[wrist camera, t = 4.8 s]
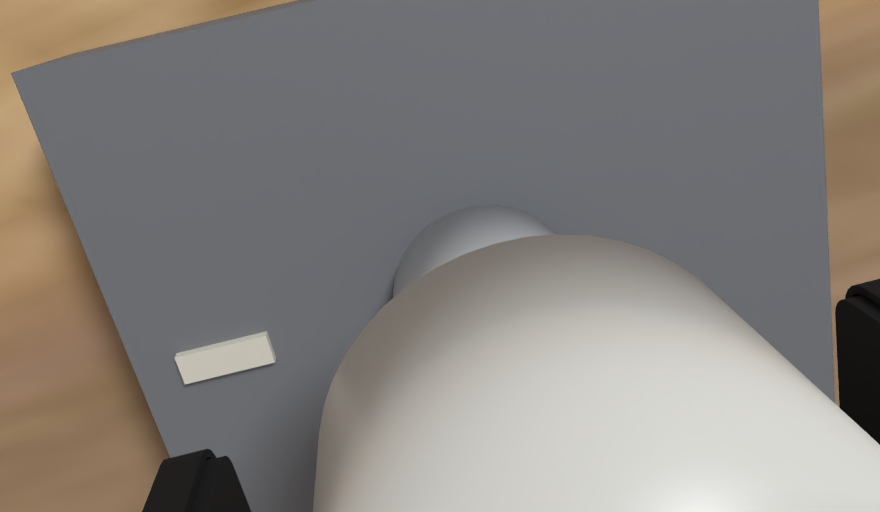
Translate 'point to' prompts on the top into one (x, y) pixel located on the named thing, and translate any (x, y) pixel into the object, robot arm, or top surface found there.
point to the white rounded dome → (579, 397)
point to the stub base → (421, 182)
